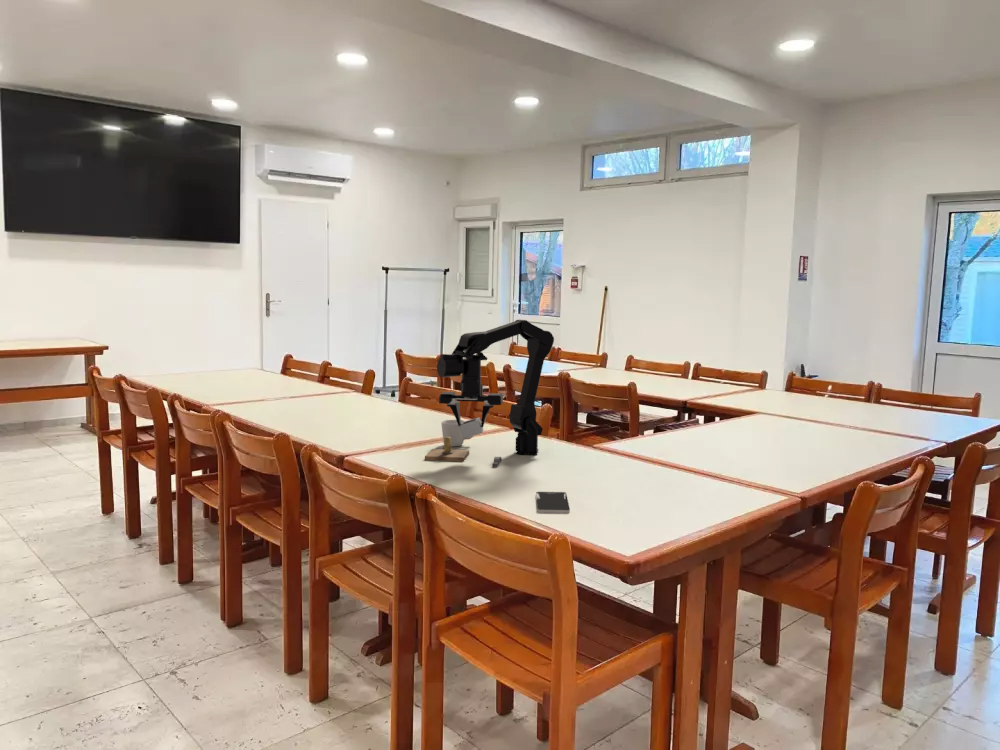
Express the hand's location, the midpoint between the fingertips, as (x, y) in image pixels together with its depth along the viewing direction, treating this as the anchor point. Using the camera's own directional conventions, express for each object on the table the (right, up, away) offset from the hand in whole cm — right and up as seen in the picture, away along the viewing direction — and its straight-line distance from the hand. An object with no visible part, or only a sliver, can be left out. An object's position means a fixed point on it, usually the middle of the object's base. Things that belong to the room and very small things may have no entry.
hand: (471, 426), depth 222 cm
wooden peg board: (-7, -10, +5) cm, 13 cm away
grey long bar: (+8, -11, -3) cm, 14 cm away
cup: (-5, -8, +22) cm, 24 cm away
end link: (+1, -2, -1) cm, 2 cm away
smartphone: (+22, -17, -42) cm, 50 cm away
